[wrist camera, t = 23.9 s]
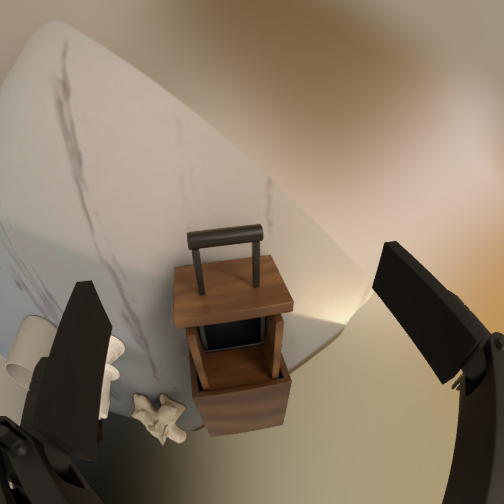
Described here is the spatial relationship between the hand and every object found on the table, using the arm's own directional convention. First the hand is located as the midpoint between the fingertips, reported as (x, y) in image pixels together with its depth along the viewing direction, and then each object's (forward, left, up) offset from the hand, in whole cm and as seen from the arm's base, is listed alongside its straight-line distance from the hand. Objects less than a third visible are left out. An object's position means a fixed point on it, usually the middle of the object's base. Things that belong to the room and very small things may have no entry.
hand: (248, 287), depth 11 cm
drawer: (+12, 0, -16) cm, 20 cm away
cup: (+19, -28, -17) cm, 38 cm away
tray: (+15, 0, -14) cm, 21 cm away
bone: (+39, -14, -17) cm, 45 cm away
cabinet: (+28, 0, -16) cm, 33 cm away
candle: (+21, -18, -17) cm, 32 cm away
